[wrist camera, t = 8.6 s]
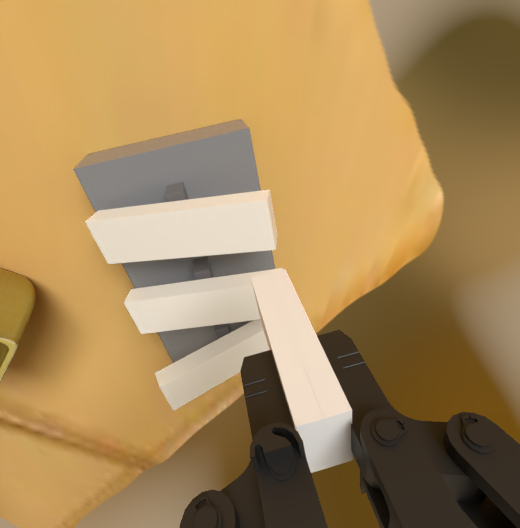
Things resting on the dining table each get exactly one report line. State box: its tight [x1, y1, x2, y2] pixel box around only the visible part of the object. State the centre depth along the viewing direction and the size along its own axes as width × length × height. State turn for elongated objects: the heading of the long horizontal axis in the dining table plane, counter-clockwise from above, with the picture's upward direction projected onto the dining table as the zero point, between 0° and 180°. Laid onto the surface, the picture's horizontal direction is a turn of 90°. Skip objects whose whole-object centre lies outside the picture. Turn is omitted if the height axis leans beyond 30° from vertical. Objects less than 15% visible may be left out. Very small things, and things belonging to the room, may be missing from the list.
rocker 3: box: [155, 319, 269, 411], centre depth 28 cm, size 12×3×2 cm, turn 100°
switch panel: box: [74, 119, 275, 363], centre depth 28 cm, size 12×22×6 cm, turn 10°
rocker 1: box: [85, 190, 278, 264], centre depth 21 cm, size 12×3×2 cm, turn 100°
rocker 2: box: [124, 268, 283, 334], centre depth 25 cm, size 12×3×2 cm, turn 100°
